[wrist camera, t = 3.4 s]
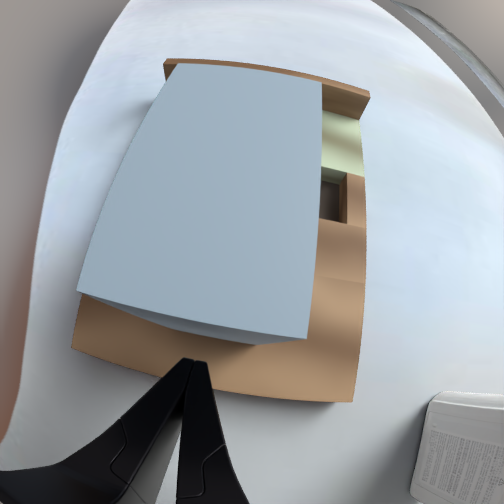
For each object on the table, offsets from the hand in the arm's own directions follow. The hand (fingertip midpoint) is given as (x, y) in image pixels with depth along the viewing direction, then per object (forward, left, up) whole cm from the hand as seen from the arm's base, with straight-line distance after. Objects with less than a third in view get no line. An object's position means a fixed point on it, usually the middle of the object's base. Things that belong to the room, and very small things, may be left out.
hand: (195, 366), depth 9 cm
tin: (+4, +4, -7) cm, 9 cm away
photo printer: (+9, -18, -9) cm, 22 cm away
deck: (+7, +7, -9) cm, 13 cm away
